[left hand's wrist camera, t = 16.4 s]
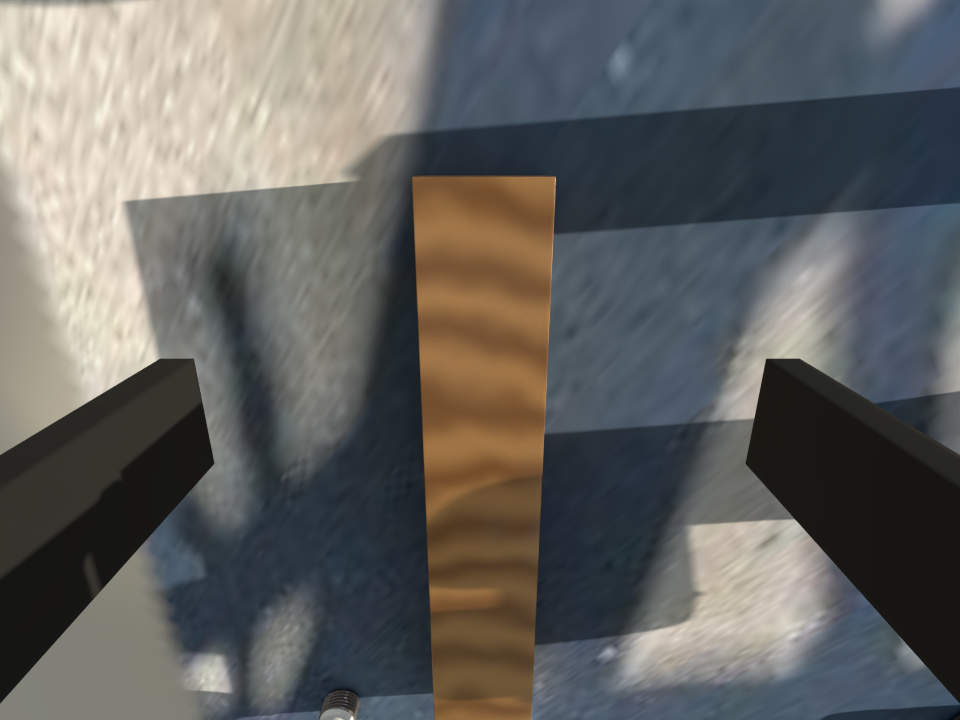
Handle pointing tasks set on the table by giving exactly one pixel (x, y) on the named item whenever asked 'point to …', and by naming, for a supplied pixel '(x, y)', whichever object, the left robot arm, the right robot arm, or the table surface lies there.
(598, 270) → the table surface
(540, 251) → the slab
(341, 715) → the light bulb
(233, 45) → the table surface
